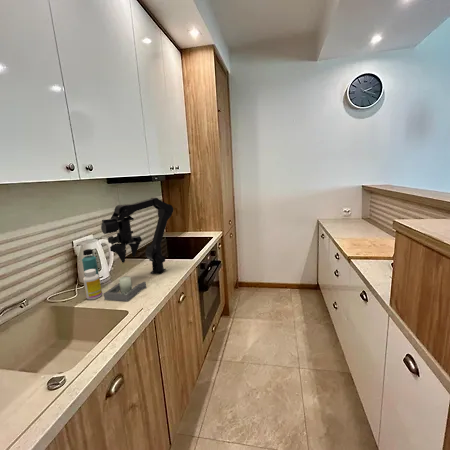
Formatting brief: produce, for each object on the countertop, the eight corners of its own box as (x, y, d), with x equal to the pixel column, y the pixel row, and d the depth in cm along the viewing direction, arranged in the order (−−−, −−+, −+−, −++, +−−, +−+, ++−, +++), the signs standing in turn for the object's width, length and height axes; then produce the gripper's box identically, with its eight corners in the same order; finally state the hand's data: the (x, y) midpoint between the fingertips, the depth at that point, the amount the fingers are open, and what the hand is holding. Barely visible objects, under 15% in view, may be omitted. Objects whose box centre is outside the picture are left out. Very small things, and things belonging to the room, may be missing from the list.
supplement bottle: (105, 295, 122) (101, 269, 119) (92, 301, 116) (87, 274, 113) (96, 292, 125) (92, 267, 122) (83, 298, 119) (78, 272, 117)
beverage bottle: (85, 292, 126) (78, 252, 122) (88, 286, 132) (81, 248, 128) (99, 289, 127) (93, 250, 123) (102, 284, 134) (96, 247, 130)
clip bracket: (121, 285, 131) (121, 280, 130) (146, 287, 127) (146, 281, 127) (102, 299, 117) (101, 293, 117) (129, 301, 114) (129, 295, 113)
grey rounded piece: (125, 289, 126) (123, 276, 125) (134, 290, 125) (132, 276, 124) (118, 294, 121) (116, 280, 120) (128, 295, 120) (126, 281, 119)
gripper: (122, 225, 141) (125, 253, 144) (98, 234, 123) (103, 265, 126) (140, 225, 138) (143, 253, 141) (118, 234, 120) (123, 266, 124)
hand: (128, 259), depth 133 cm, fingers open, 9 cm apart
